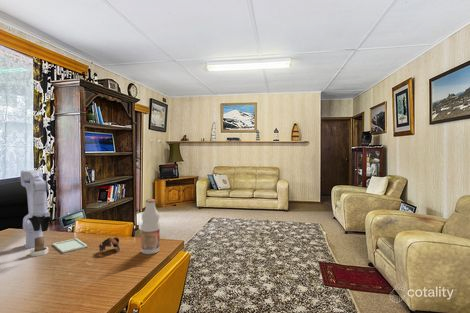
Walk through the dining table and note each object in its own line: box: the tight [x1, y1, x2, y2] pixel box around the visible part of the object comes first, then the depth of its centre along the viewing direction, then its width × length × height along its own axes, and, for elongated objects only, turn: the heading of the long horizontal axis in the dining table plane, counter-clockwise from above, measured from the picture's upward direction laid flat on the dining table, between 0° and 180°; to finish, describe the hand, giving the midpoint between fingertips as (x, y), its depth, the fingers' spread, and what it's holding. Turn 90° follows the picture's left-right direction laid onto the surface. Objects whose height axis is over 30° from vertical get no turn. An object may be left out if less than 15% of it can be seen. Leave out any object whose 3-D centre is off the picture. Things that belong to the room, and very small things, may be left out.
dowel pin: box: [35, 236, 45, 252], centre depth 134 cm, size 4×4×8 cm
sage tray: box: [52, 238, 89, 254], centre depth 145 cm, size 18×12×2 cm, turn 49°
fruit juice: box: [140, 198, 161, 255], centre depth 140 cm, size 9×9×28 cm
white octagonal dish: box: [29, 246, 49, 257], centre depth 134 cm, size 7×7×2 cm
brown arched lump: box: [98, 236, 121, 253], centre depth 140 cm, size 12×10×8 cm
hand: (40, 230), depth 133 cm, fingers open, 7 cm apart
